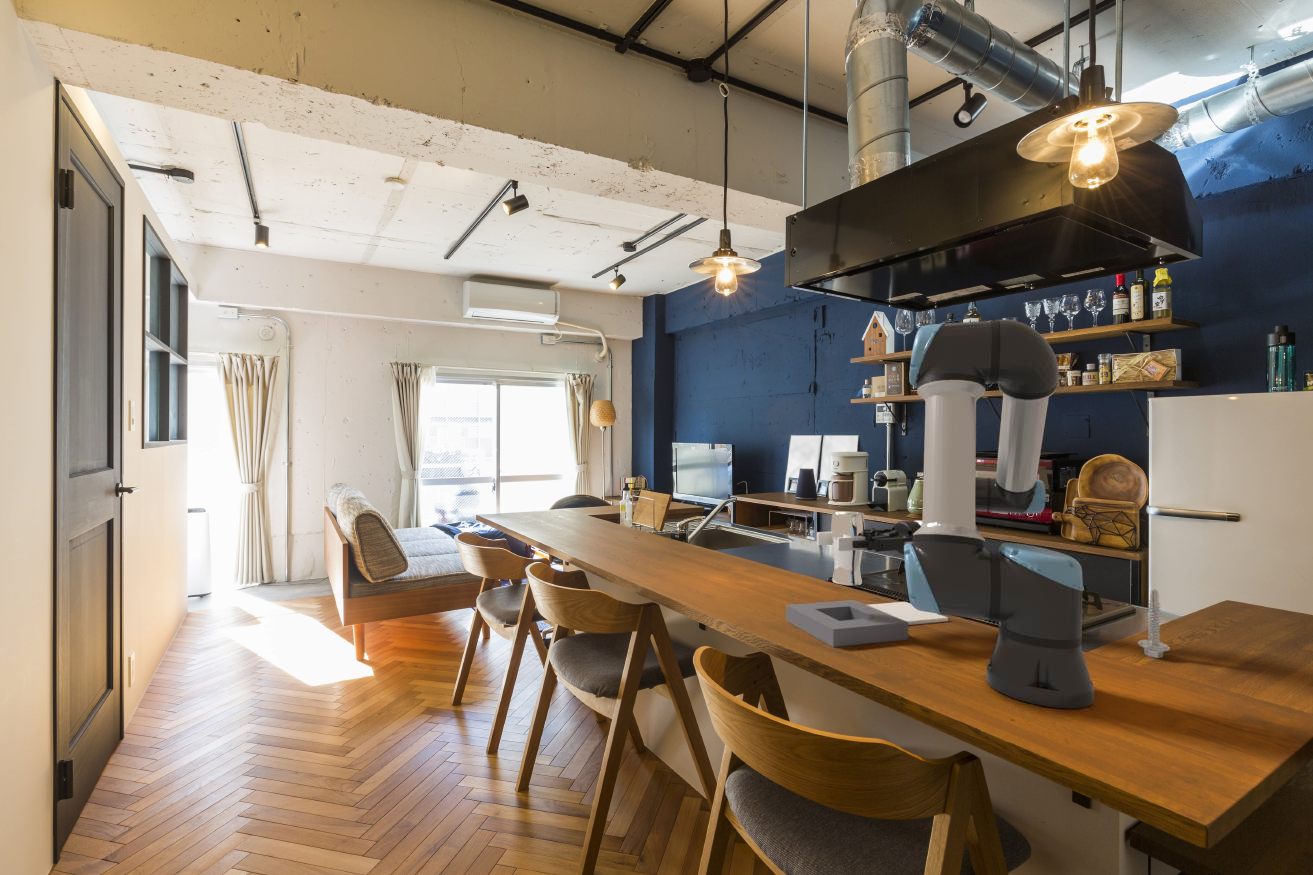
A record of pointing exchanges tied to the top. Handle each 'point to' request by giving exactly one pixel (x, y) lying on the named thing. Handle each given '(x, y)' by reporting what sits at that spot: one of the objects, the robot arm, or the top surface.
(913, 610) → the stone tile
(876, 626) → the pocket holder
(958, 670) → the top surface
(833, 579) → the metal tumbler
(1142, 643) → the screw
